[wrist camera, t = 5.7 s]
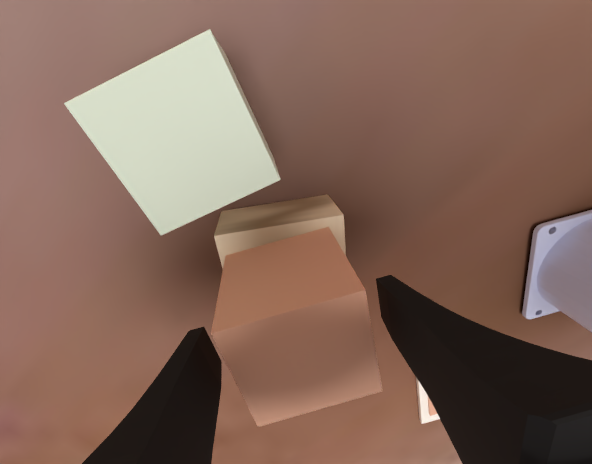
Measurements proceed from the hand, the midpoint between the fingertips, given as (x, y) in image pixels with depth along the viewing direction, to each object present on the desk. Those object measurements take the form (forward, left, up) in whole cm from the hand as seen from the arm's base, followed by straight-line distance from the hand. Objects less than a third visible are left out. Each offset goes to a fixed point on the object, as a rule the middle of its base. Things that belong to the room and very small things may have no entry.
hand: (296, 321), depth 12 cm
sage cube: (+2, -8, -6) cm, 10 cm away
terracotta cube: (0, 0, -3) cm, 3 cm away
